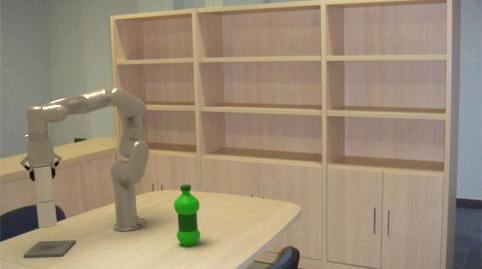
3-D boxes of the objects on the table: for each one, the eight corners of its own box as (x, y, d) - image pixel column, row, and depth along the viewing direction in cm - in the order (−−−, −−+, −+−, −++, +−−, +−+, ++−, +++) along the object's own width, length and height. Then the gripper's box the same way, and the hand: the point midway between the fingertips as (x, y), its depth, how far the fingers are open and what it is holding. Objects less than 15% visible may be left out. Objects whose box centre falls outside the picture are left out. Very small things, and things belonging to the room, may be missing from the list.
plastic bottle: (178, 240, 228) (174, 183, 225) (202, 239, 228) (199, 182, 224) (174, 248, 218) (170, 189, 215) (200, 247, 218) (196, 188, 214)
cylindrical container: (54, 221, 226) (48, 163, 223) (59, 225, 220) (53, 166, 217) (36, 225, 222) (30, 166, 219) (41, 229, 216) (34, 169, 213)
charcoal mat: (75, 242, 231) (75, 240, 231) (62, 256, 215) (62, 253, 215) (39, 243, 231) (39, 241, 231) (23, 257, 216) (23, 255, 215)
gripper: (16, 140, 209) (21, 184, 211) (62, 135, 217) (66, 177, 219) (14, 137, 215) (19, 180, 218) (59, 133, 223) (63, 174, 226)
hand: (43, 178), depth 219 cm, fingers closed on cylindrical container, 7 cm apart
